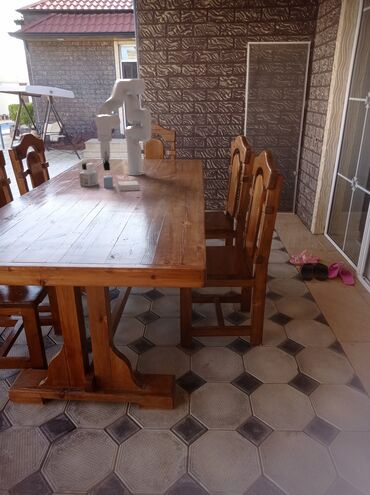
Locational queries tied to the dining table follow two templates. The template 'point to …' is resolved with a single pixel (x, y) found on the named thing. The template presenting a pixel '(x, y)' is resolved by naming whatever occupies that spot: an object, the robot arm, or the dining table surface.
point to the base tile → (128, 185)
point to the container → (88, 175)
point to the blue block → (108, 181)
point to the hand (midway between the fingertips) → (106, 169)
